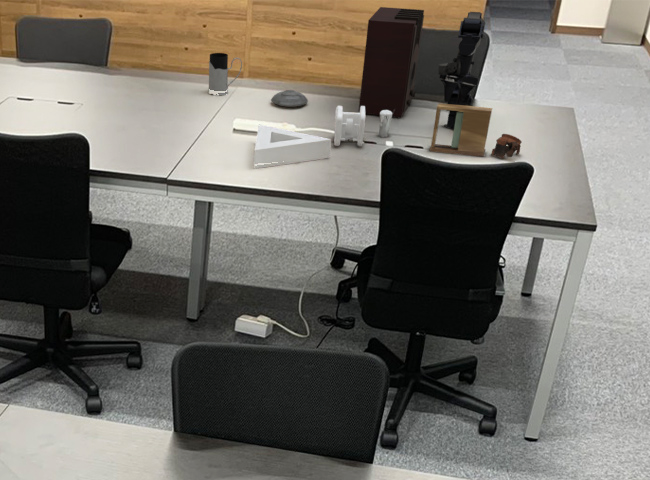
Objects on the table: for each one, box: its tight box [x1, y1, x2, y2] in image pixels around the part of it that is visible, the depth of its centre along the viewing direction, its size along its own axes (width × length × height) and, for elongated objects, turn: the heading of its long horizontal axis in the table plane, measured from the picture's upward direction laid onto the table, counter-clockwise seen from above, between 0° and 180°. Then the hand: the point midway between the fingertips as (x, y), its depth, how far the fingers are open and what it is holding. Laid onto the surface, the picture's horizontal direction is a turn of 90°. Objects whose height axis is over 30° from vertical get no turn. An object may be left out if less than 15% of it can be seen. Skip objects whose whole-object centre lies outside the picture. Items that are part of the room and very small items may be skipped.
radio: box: [357, 6, 425, 119], centre depth 382 cm, size 19×27×35 cm
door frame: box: [429, 102, 493, 158], centre depth 344 cm, size 5×19×16 cm, turn 71°
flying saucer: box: [270, 89, 309, 108], centre depth 395 cm, size 15×15×6 cm
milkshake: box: [378, 110, 394, 138], centre depth 360 cm, size 4×5×10 cm
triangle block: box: [253, 124, 332, 170], centre depth 346 cm, size 30×26×6 cm
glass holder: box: [208, 52, 243, 96], centre depth 406 cm, size 9×14×15 cm, turn 96°
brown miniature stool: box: [490, 133, 522, 160], centre depth 343 cm, size 12×10×8 cm
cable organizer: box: [333, 105, 366, 148], centre depth 353 cm, size 15×11×12 cm
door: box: [450, 111, 464, 148], centre depth 345 cm, size 7×9×12 cm
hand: (451, 103), depth 353 cm, fingers open, 9 cm apart
